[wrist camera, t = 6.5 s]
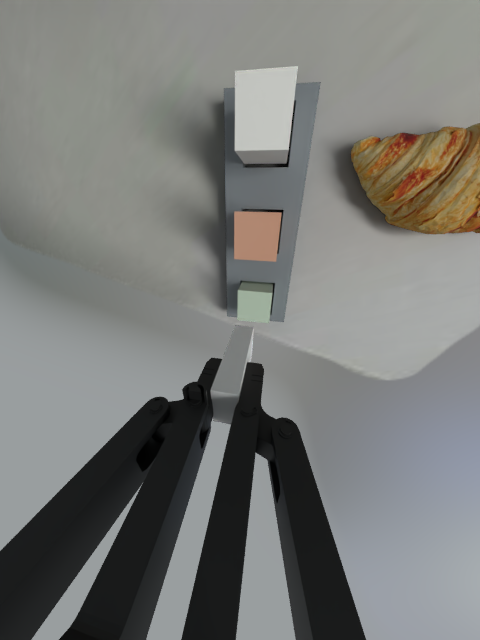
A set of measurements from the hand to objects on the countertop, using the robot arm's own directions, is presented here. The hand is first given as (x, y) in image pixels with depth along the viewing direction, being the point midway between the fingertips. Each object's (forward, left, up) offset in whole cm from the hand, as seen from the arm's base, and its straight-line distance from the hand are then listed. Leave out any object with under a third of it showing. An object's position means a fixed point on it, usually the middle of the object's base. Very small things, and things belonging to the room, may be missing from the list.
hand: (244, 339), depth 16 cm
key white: (-17, 0, -16) cm, 23 cm away
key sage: (+3, 0, -19) cm, 19 cm away
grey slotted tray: (-7, 0, -19) cm, 20 cm away
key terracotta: (-7, 0, -16) cm, 18 cm away
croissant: (-13, +19, -20) cm, 30 cm away
